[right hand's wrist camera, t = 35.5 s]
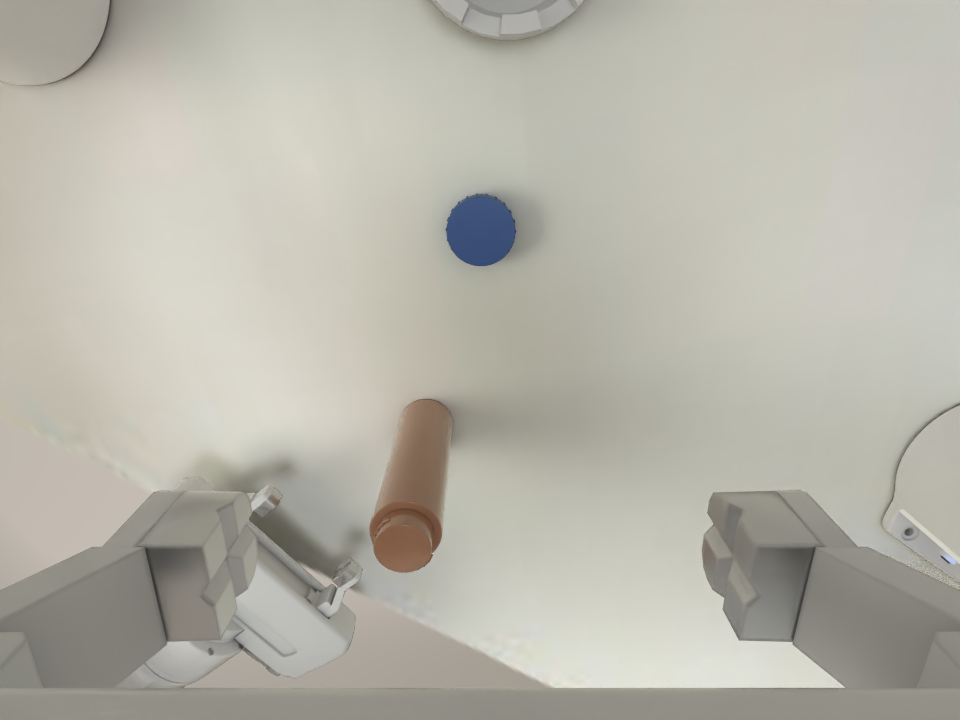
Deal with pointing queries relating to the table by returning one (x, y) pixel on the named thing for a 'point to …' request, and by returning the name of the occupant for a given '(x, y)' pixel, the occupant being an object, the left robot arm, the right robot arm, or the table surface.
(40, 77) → the left robot arm
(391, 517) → the jar
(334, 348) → the table surface
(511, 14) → the flag stand
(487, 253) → the lid
